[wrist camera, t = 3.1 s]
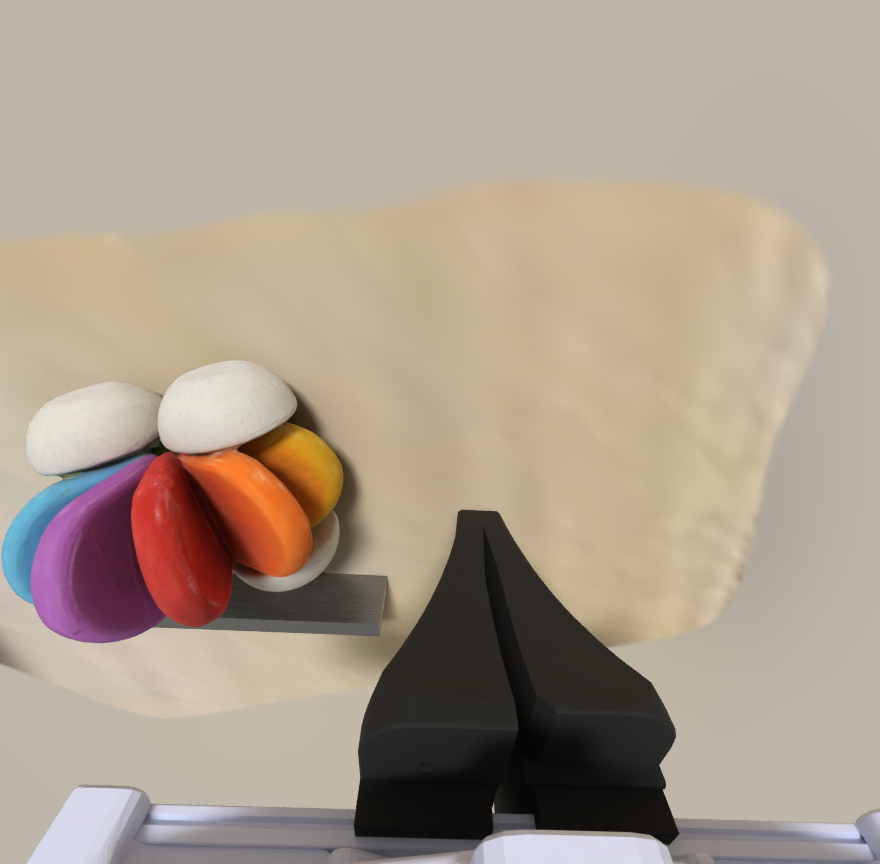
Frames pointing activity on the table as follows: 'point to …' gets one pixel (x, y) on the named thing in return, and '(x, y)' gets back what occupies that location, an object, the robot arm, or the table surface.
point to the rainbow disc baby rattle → (170, 502)
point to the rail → (304, 607)
